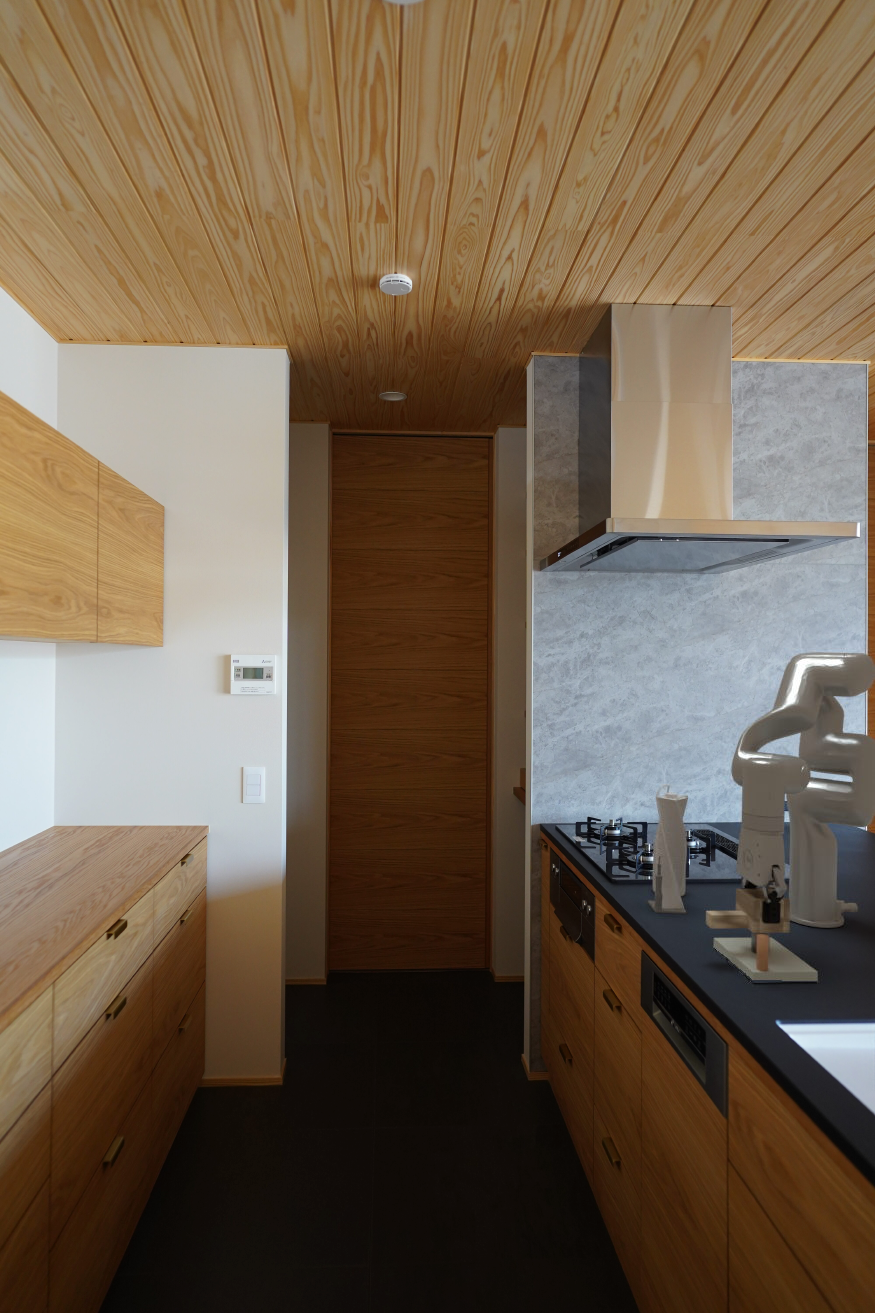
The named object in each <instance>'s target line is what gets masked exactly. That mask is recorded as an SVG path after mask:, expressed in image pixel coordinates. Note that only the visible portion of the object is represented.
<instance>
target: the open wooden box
mask: <svg viewBox="0 0 875 1313" xmlns="http://www.w3.org/2000/svg"><path fill="white" fill-rule="evenodd" d="M772 891H774V889H769V894H771V892H772ZM763 901H765V898H764V893H763V888H759V889H743V888H735V910H705V924H706V926H708V927H709V928H710V929H748V930H749V931H750V932H753V933H770V934H771V933H773V934H774V933H775V934H776V933H779V934H780V933H782V934H783V933H785V934H787V933H788V934H789V933H790V932H791V930H790V928H791V927H790V926H791V924H790V923H791V920H790V900H789V898H787V897H785V896H784V897H783V898H782V903H781V910H780V923H779V924H765V923H763V922H762V908H763Z"/></svg>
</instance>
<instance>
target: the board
mask: <svg viewBox="0 0 875 1313" xmlns="http://www.w3.org/2000/svg"><path fill="white" fill-rule="evenodd" d="M714 948H715V949H716V950H717V952H718V951H719V952H720V953H721V954H723V955H724V956H725V957H727V958H728V959H729V960H730V961H731V962H732V963H733V964H735V965H736V966H737V967H738V968H739V969H741V970H742V971H743V972H744V973H746V975H747V976H749V977H750V978H751V979H752V980H782V981H817V982H818V976H819V974H818V971H817V970H816V969H815V968H814V967H812V966H810V965H809V964H808V963H806V961H804V960H803V959H801V958H800V957H799V956H797V955H796V954H794V953H793V952H792V951H791V950H789V949H787V947H785V946H784V945H782V944H781V943H780V942H778V941H777V940H776V939H774V938H773V937H770V946H769V965H768V971H766V972H764V971H759V970H757V969H756V959H757V954H755V953H753V952H752V951H751V937H714V938H713V949H714ZM715 949H714V950H715ZM716 950H715V951H716ZM719 952H718V953H719ZM720 953H719V954H720ZM721 954H720V955H721Z"/></svg>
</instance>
